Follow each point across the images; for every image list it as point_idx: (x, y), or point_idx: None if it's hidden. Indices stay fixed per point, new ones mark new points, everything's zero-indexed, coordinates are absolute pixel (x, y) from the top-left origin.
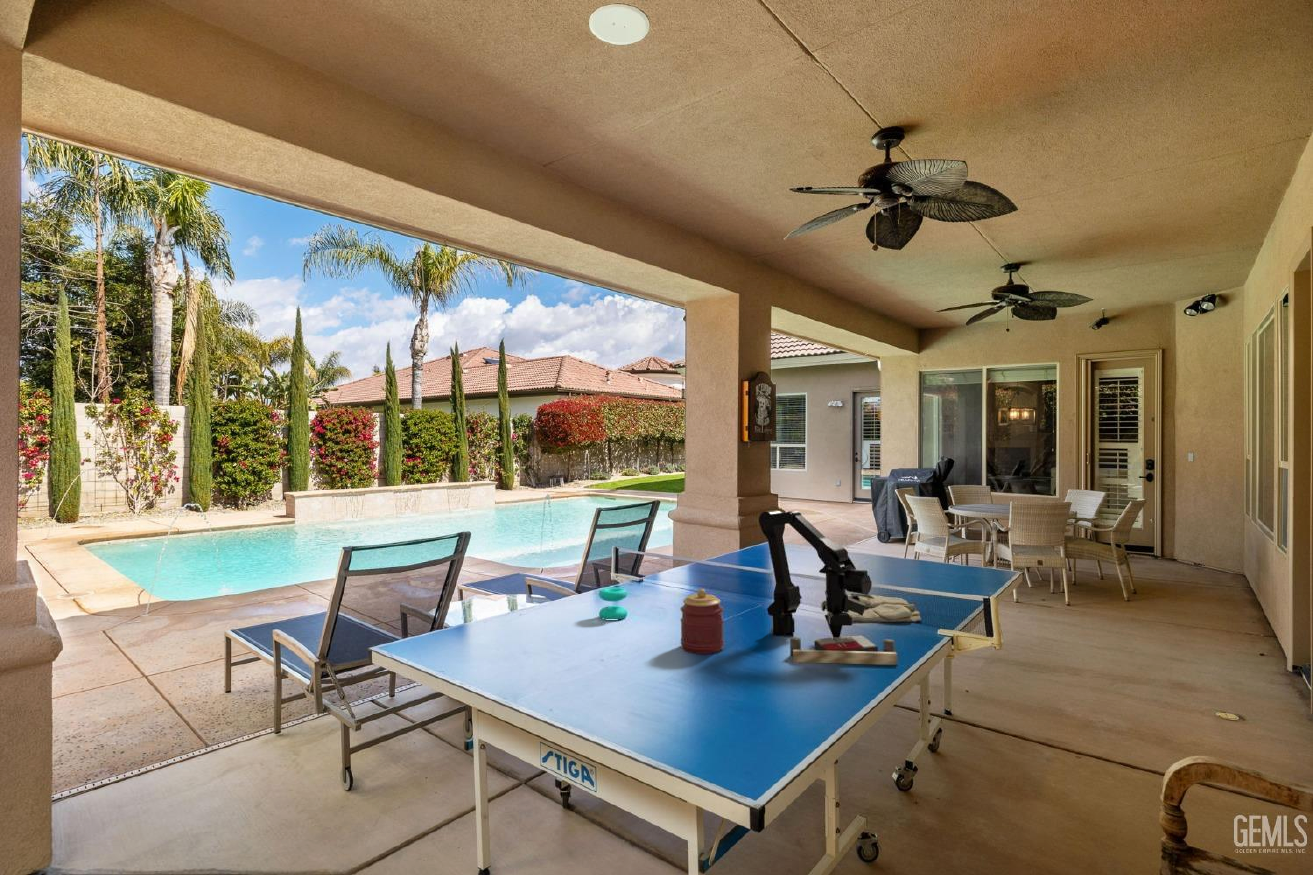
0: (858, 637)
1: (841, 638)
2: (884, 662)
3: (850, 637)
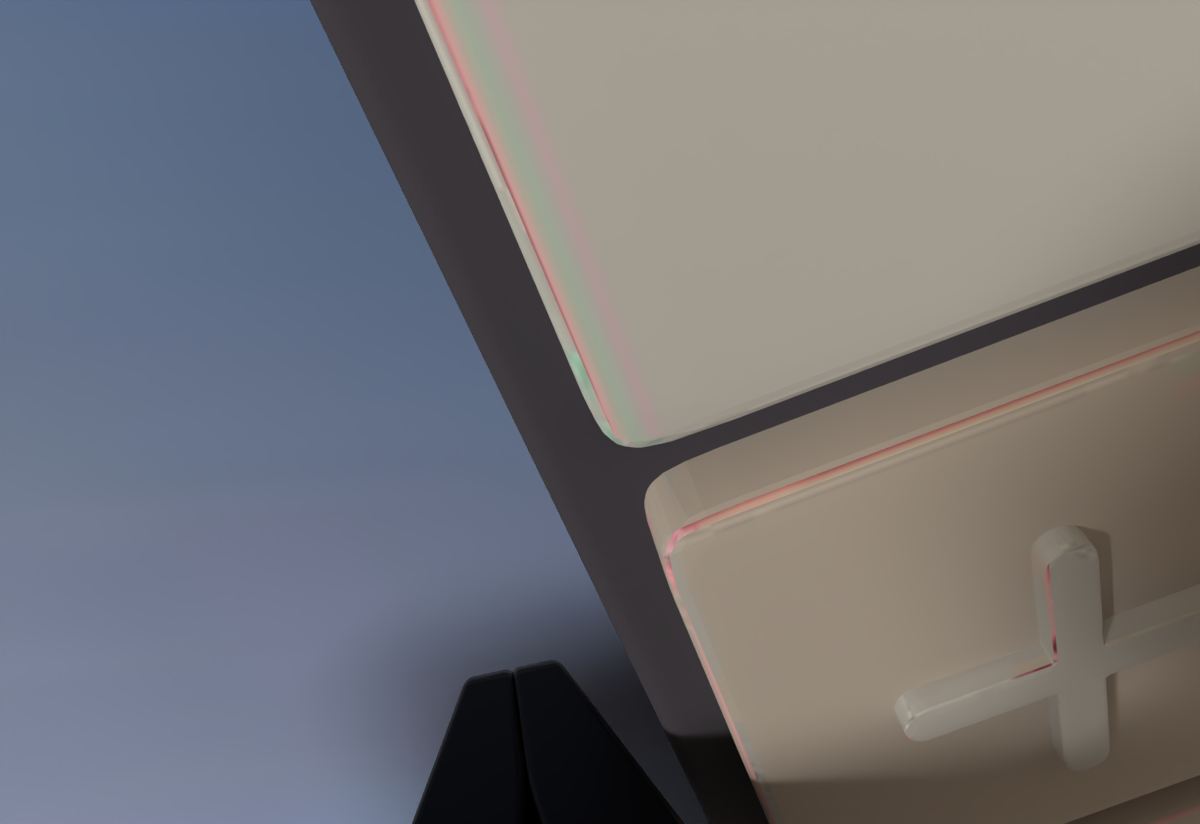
0: (840, 5)
1: (1083, 719)
2: None
3: (748, 411)
